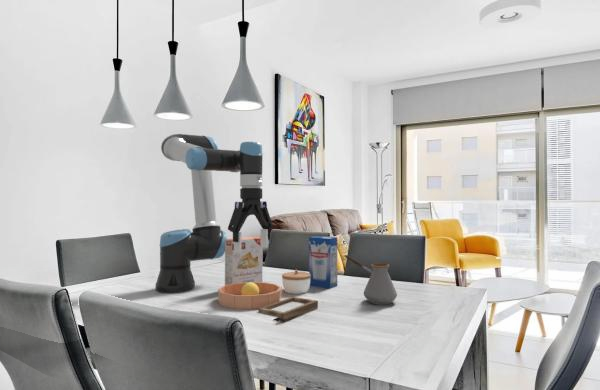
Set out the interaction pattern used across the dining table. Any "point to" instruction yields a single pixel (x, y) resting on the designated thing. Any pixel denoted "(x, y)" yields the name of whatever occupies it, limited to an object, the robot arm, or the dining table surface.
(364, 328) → the dining table surface
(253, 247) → the cracker box
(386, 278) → the coffee pot
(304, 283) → the lidded jar
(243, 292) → the ball
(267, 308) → the tray
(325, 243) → the milk carton
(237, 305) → the bowl
